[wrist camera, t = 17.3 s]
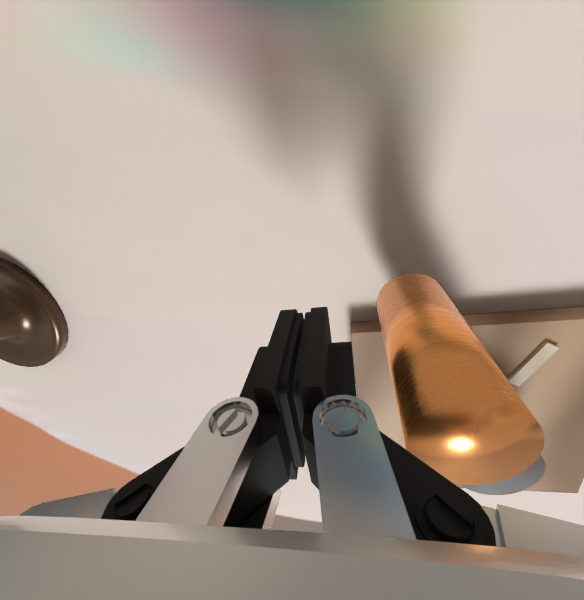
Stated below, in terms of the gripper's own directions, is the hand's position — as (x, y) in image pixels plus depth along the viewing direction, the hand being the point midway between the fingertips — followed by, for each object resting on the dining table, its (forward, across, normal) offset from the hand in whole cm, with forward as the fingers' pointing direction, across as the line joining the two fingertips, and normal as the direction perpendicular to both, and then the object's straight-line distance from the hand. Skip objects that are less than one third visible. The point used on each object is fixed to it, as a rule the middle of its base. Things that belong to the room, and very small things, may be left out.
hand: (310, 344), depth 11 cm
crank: (+6, -7, +6) cm, 10 cm away
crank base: (+7, -9, +10) cm, 15 cm away
